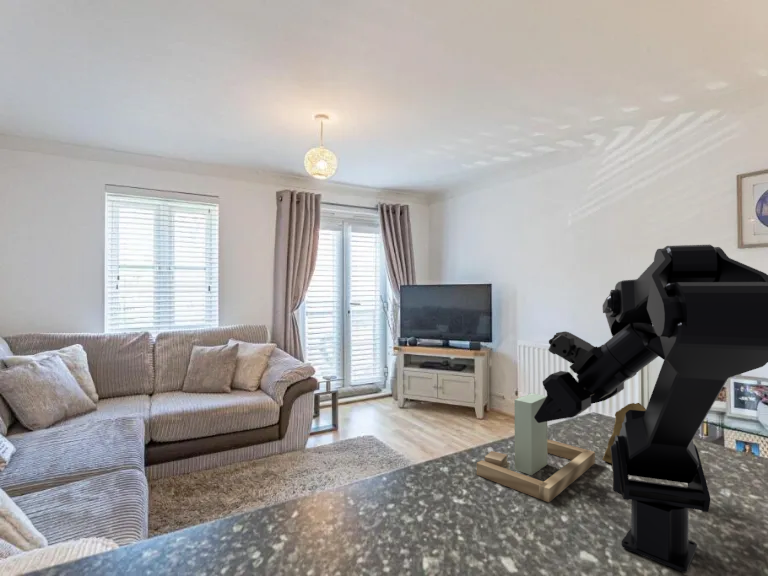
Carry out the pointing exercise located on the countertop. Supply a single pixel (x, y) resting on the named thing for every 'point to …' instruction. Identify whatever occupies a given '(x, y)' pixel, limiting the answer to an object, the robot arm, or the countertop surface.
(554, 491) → the wooden u-shaped frame
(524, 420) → the pale green rectangular pillar
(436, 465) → the countertop surface
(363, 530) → the countertop surface
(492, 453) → the offcut stack
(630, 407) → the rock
